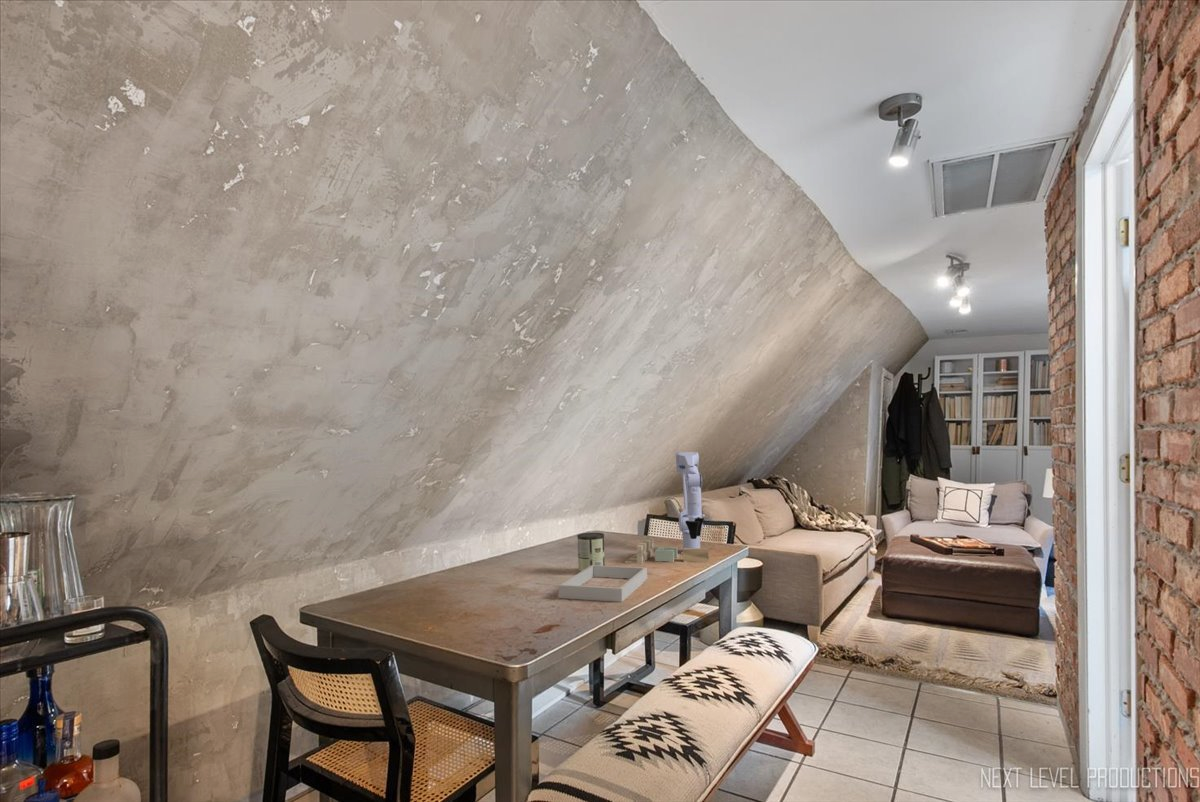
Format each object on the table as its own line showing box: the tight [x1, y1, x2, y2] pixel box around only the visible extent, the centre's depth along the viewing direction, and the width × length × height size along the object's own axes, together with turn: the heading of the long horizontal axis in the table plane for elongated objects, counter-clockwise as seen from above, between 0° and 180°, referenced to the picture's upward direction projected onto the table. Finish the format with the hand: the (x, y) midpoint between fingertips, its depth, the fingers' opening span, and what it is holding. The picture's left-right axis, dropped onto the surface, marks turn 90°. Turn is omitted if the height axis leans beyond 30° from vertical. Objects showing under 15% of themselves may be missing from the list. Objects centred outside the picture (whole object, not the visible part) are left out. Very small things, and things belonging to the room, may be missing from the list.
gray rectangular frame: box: [558, 565, 648, 603], centre depth 213 cm, size 32×21×4 cm, turn 162°
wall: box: [624, 537, 655, 564], centre depth 262 cm, size 20×7×7 cm, turn 162°
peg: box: [682, 547, 710, 563], centre depth 255 cm, size 4×10×5 cm, turn 79°
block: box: [654, 546, 679, 563], centre depth 259 cm, size 9×8×4 cm
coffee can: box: [576, 532, 606, 573], centre depth 240 cm, size 10×10×14 cm
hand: (695, 537), depth 255 cm, fingers open, 7 cm apart
